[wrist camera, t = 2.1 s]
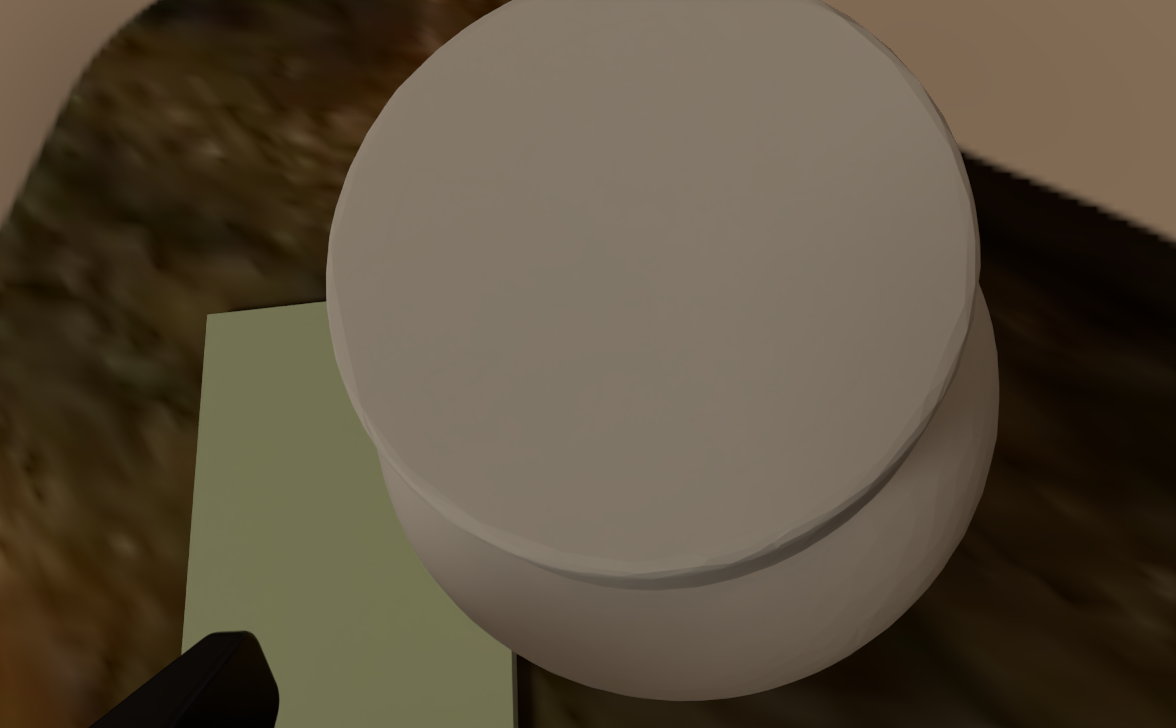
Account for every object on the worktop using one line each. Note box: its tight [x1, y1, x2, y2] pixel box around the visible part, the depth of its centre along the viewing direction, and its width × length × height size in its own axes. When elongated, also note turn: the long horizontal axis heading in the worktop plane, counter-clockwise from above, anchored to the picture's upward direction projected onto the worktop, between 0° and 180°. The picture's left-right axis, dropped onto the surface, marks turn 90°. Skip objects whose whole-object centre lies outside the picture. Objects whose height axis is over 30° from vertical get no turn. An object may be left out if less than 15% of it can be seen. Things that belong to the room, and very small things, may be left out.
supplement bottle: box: [326, 0, 999, 701], centre depth 13 cm, size 7×7×13 cm
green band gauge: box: [182, 302, 518, 728], centre depth 18 cm, size 13×16×1 cm
